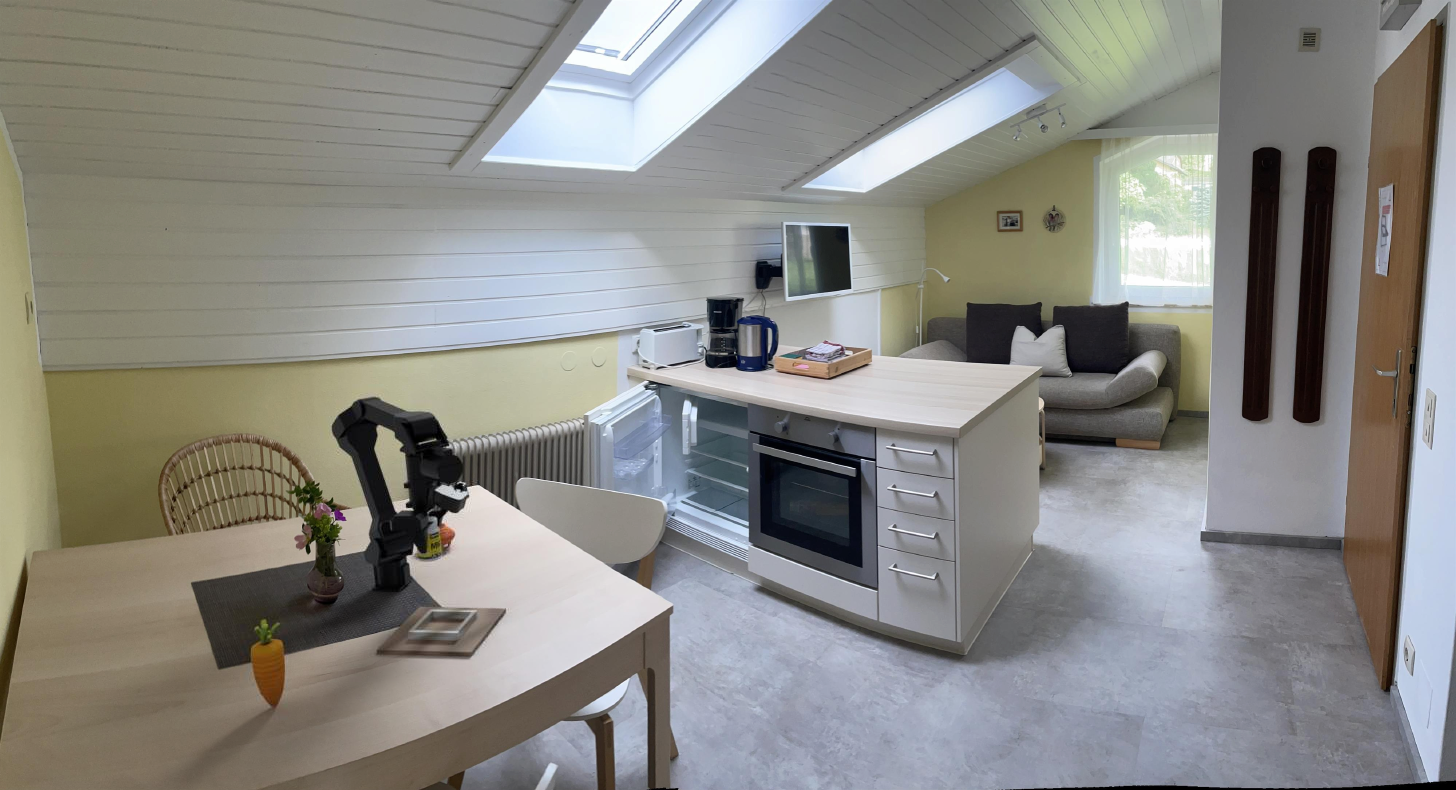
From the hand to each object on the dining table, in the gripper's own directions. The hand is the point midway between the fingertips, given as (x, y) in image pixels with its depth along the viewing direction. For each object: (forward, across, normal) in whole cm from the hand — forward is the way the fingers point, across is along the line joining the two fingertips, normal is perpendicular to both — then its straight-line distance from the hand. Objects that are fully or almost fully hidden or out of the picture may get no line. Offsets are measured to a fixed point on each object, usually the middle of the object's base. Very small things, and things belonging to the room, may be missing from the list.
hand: (429, 548), depth 173 cm
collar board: (+12, -12, -8) cm, 19 cm away
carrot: (+12, -39, +10) cm, 42 cm away
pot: (+12, +31, +12) cm, 35 cm away
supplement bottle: (+2, 0, 0) cm, 2 cm away
